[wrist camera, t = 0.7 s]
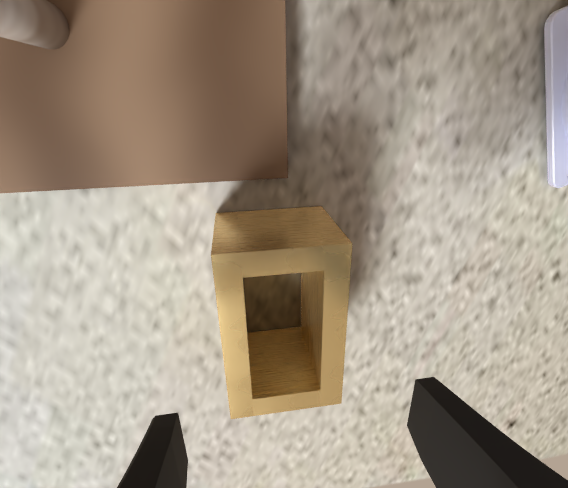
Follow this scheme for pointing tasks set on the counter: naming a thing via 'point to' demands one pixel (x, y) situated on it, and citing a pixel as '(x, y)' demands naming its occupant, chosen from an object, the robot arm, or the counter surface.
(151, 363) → the counter surface
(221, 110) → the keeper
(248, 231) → the link
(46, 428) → the counter surface
